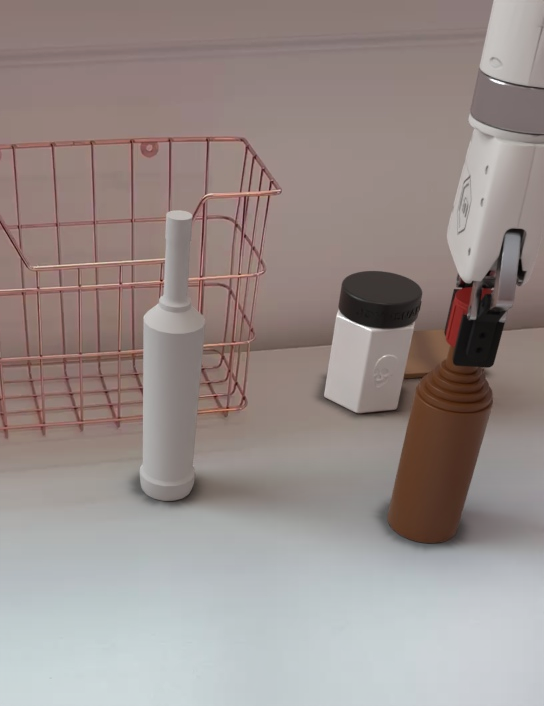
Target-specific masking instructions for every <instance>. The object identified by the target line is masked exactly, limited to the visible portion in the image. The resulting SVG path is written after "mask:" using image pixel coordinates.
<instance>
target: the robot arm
mask: <svg viewBox="0 0 544 706" xmlns="http://www.w3.org/2000/svg"><path fill="white" fill-rule="evenodd" d="M488 19H489V21H488V25H487V28H486V29H487V30H486V33H485V39H484V44H483V47H482V52H481V57H480V62H479V67H478V71H477V76H476V79H475V85H474V90H473V95H472V98H471V99H472V100H471V103H470V104H471V105H470V109H469V115H468V121H467V122H468V124H469V125H470V127H472V128H473V130H472V133H471V136H470V140H469V142H468V143H469V144H468V147H467V150H466V154H465V158H464V162H463V165H462V170H461V173H460V177H459V181H458V185H457V189H456V193H455V197H454V201H453V204H452V209H451V213H450V216H449V221H448V225H447V229H446V242H447V245H448V248H449V250H450V251H449V252H450V255H451V257H452V260H453V263H454V266H455V268H456V271H457V275H456V278H455V279H456V280H455V287H456V288H453V291H452V296H451V299H450V304H449V309H448V313H447V318H446V321H445V327H444V329H445V331H444V333H445V337H446V329H447V325H448V321H449V316H450V312H451V307H452V303H453V300H454V298H455V294H456V292H457V291H458V290H460V289H462V288H467V287H472V292H471V297H470V302H469V307H468V312H467V315H463V314H462V319H461V323H460V327H459V331H458V336H457V340H456V344H455V348H454V353H453V357H452V360H453V364H454V365H456V366H469V367H483V368H484V369H486V368H491V367H493V366H494V365H495V361H496V357H497V355H498V350H499V346H500V343H501V339H502V335H503V332H504V327H505V323H506V321H507V318H508V313H509V311H510V309H512V308H513V306H514V304H515V298H516V288H517V286H518V287H522V286H525V285H526V284H527V283H528V282H529V281H530V279H531V277H532V274H533V271H534V268H535V266H536V262H537V259H538V256H539V252H540V249H541V245H542V243H543V239H544V238H543V237H544V0H493V1H492V5H491V10H490V15H489V18H488ZM483 288H486V289H490V290H493V292H491V294H485V295H484V296H483V298H482V299H481V295H482V290H483Z"/></svg>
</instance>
